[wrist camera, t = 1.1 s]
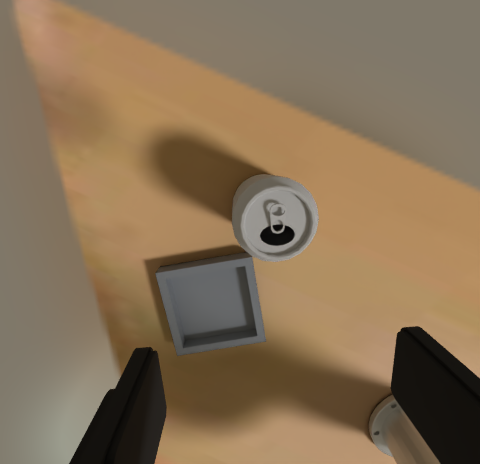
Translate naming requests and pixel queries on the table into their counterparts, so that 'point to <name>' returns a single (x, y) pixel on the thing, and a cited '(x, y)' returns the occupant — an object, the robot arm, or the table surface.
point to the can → (273, 217)
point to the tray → (212, 303)
